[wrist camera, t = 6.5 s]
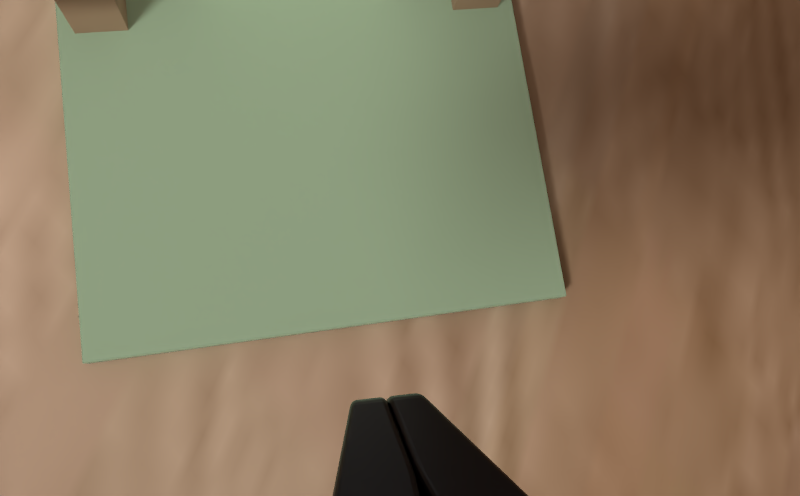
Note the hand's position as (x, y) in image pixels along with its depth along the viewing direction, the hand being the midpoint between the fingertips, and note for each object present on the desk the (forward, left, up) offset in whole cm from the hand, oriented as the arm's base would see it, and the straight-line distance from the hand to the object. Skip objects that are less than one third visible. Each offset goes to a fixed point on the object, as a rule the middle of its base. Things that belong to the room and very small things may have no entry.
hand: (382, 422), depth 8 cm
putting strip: (+11, -7, -12) cm, 18 cm away
